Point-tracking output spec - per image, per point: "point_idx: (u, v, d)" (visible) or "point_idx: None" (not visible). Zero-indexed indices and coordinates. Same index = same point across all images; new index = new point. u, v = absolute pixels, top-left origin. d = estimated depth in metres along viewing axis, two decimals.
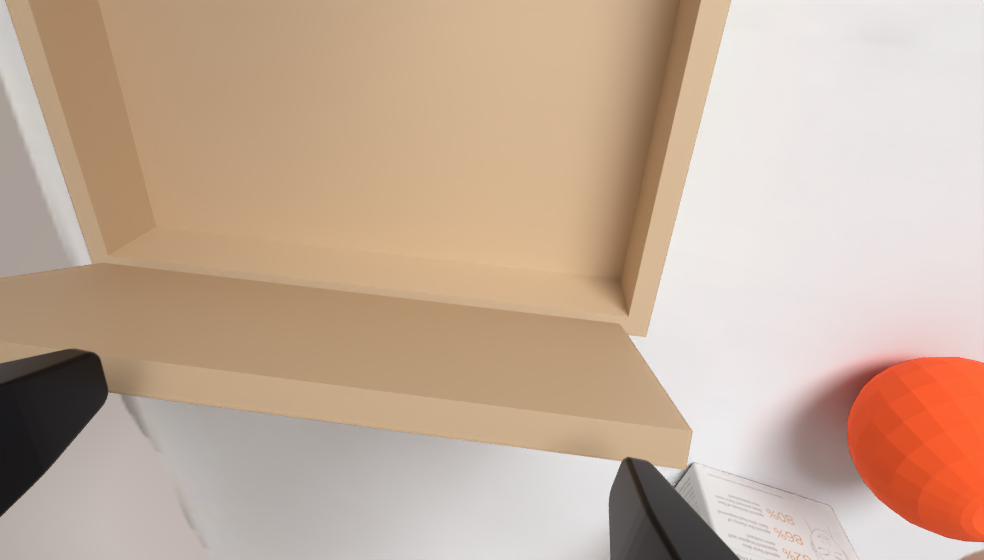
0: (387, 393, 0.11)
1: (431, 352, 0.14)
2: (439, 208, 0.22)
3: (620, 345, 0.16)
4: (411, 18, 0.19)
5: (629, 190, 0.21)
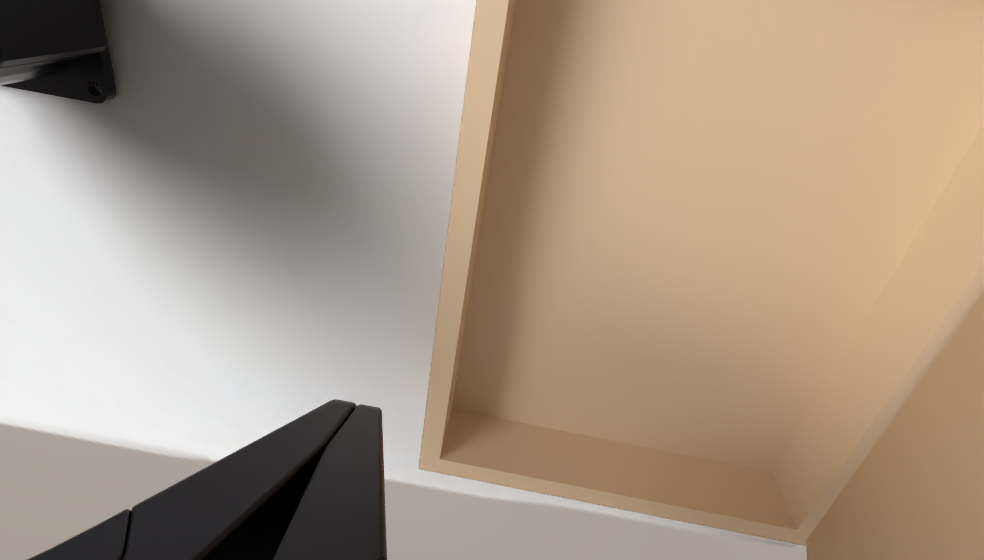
0: None
1: None
2: (861, 194, 0.17)
3: None
4: (642, 188, 0.18)
5: None
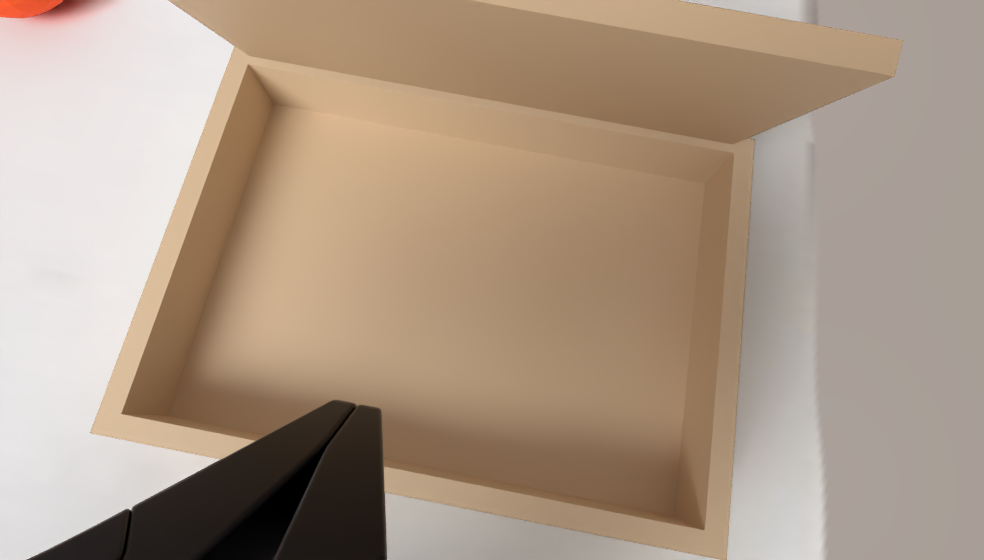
0: None
1: (337, 19, 0.15)
2: (424, 178, 0.24)
3: (218, 28, 0.18)
4: (415, 330, 0.23)
5: (256, 179, 0.24)
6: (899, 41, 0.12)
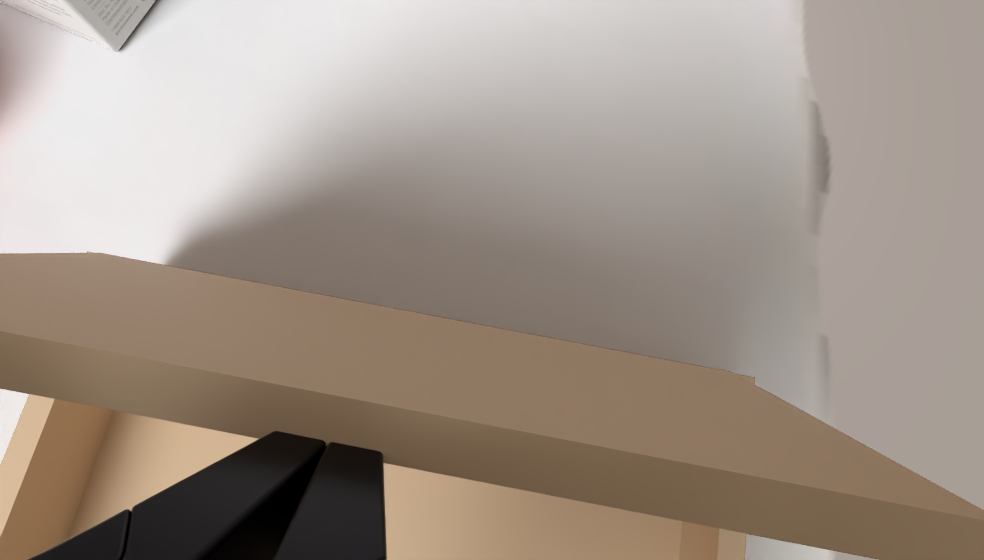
0: (19, 389, 0.07)
1: None
2: None
3: None
4: None
5: None
6: None
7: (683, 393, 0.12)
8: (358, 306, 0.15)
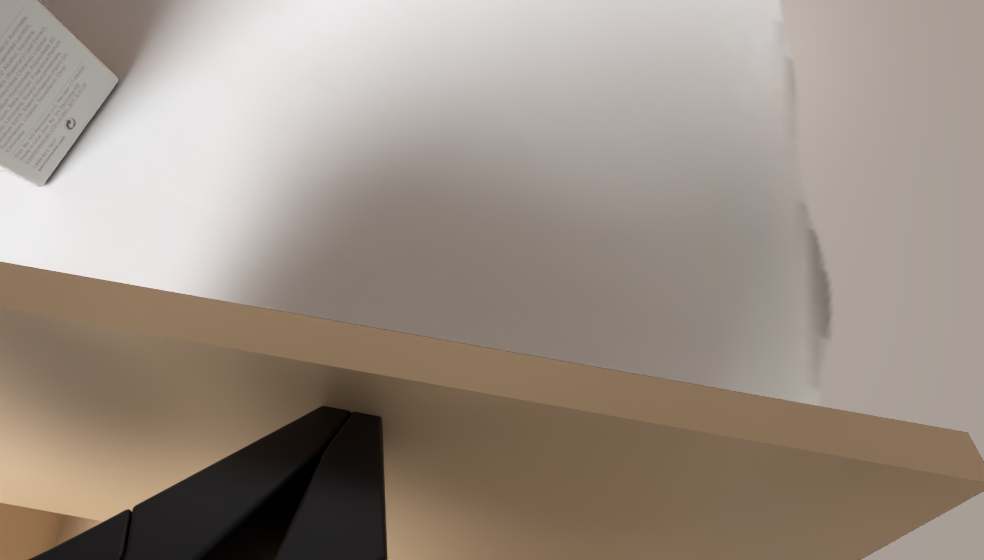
0: (45, 312, 0.08)
1: (101, 416, 0.10)
2: None
3: None
4: None
5: None
6: (961, 433, 0.08)
7: None
8: None
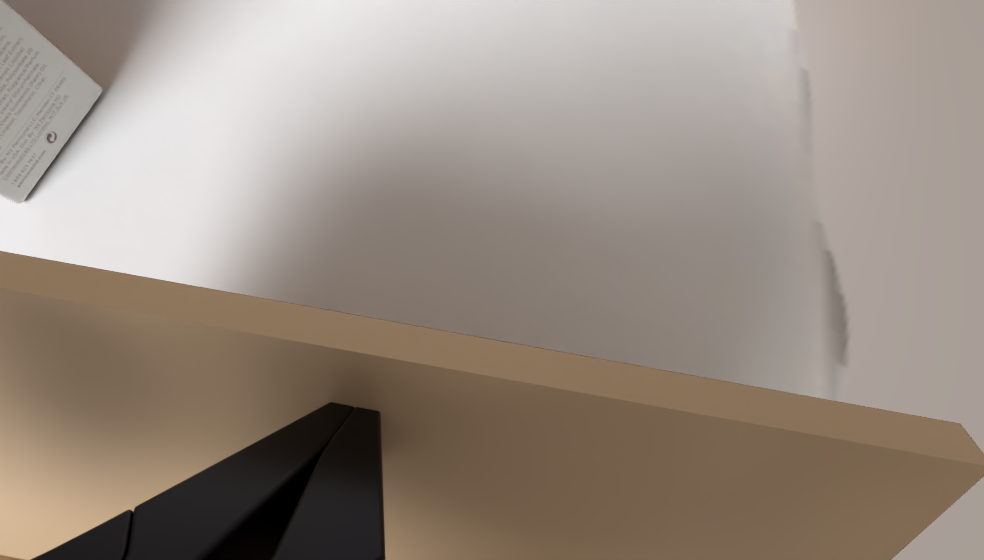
0: (78, 300, 0.08)
1: (107, 425, 0.10)
2: None
3: None
4: None
5: None
6: (956, 425, 0.08)
7: None
8: None
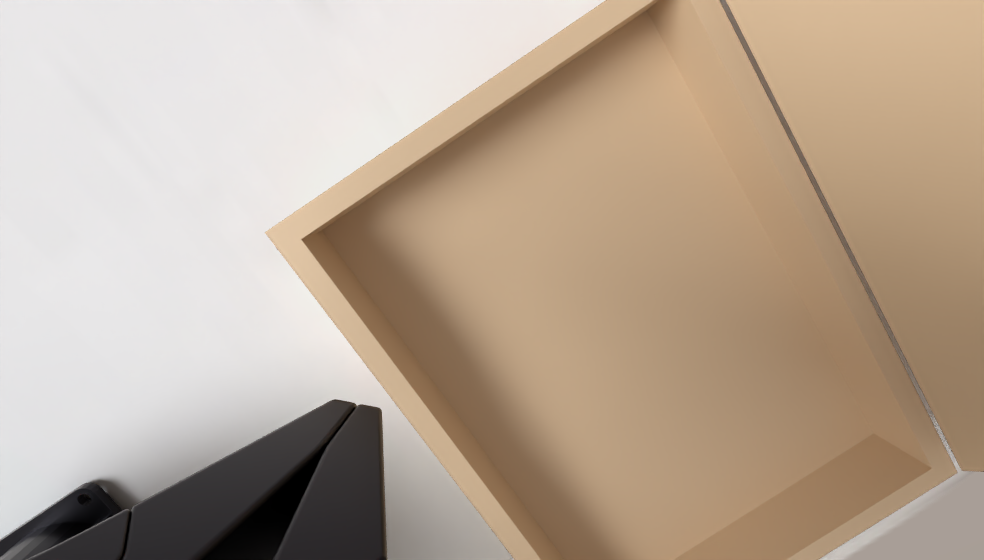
0: None
1: None
2: (693, 222, 0.21)
3: None
4: (562, 341, 0.22)
5: (563, 79, 0.20)
6: None
7: None
8: None
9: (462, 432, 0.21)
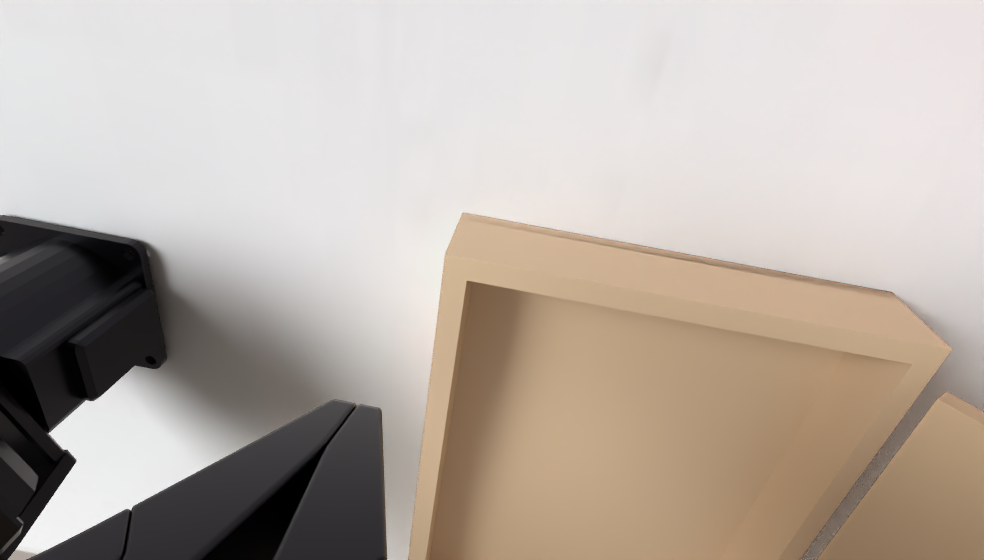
0: None
1: None
2: (726, 451, 0.23)
3: None
4: (565, 439, 0.24)
5: None
6: None
7: None
8: None
9: (446, 442, 0.24)
